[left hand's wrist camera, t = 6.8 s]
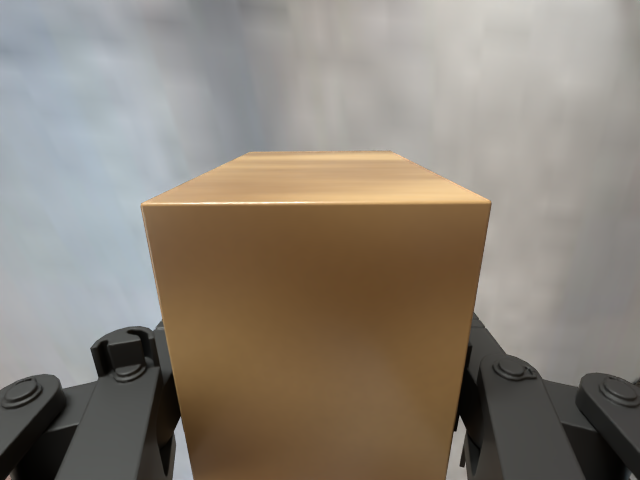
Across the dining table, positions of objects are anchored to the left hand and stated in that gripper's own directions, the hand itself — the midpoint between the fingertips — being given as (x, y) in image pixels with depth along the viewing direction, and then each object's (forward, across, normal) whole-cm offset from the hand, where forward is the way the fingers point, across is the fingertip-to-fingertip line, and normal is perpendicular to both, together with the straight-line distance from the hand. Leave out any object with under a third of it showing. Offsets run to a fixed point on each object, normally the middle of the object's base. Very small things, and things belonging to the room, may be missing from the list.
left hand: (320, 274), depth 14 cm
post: (0, 0, -32) cm, 32 cm away
